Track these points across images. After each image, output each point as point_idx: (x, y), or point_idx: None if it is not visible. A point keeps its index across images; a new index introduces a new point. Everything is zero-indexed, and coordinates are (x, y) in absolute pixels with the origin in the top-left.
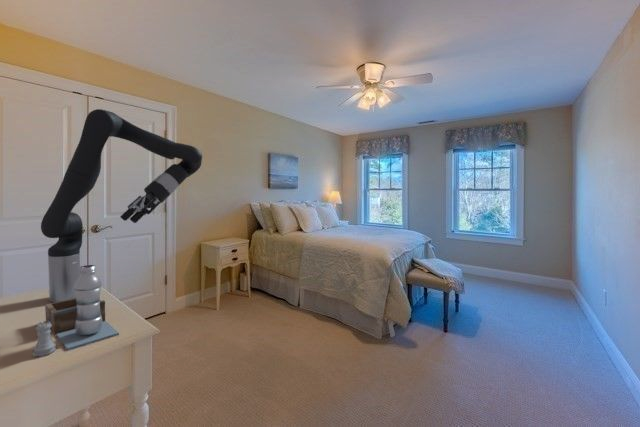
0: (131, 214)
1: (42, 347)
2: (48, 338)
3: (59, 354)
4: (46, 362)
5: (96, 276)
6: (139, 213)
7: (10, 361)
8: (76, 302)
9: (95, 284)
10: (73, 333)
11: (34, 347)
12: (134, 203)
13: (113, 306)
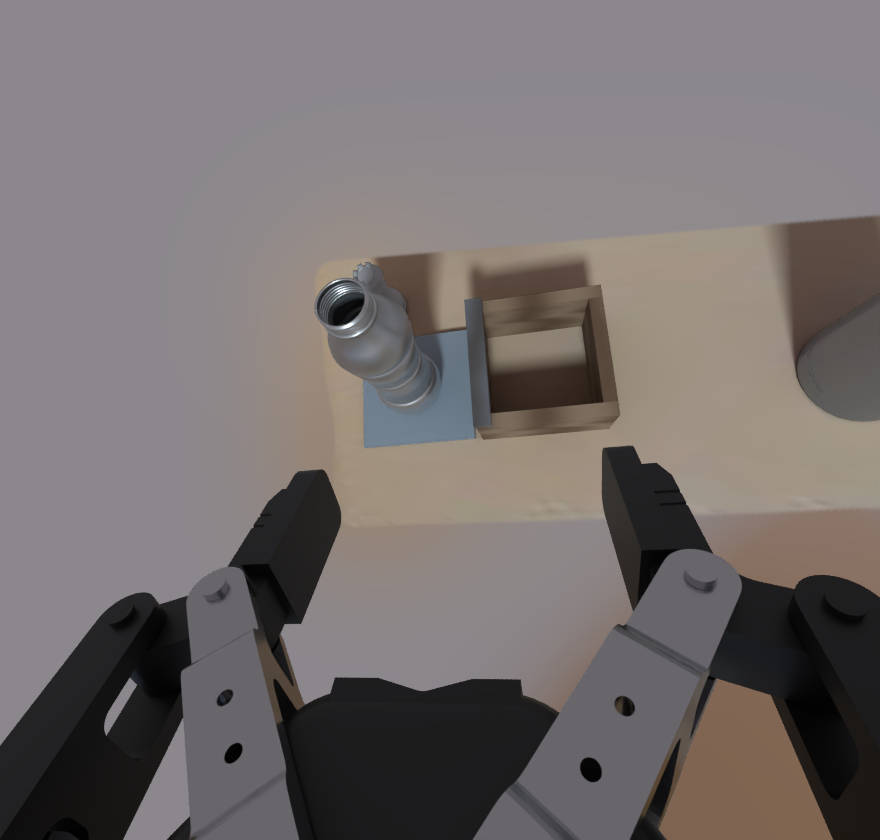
0: (629, 583)
1: None
2: None
3: None
4: None
5: (341, 347)
6: (233, 562)
7: (394, 262)
8: (596, 367)
9: (330, 350)
10: (440, 360)
11: (391, 287)
12: (594, 660)
13: None
